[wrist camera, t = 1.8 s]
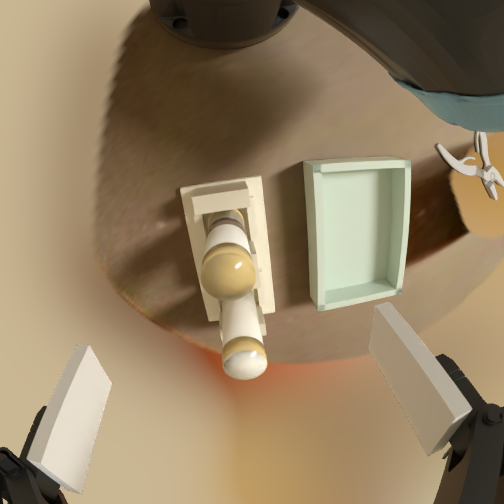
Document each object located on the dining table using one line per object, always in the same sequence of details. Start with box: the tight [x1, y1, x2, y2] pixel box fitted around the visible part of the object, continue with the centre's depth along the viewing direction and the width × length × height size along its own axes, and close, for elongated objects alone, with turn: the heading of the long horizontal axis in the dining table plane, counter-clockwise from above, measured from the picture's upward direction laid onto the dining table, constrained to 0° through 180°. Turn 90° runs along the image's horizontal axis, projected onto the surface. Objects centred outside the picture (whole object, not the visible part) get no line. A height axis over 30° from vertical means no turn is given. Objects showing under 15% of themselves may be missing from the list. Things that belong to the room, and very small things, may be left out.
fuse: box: [222, 289, 267, 380], centre depth 27 cm, size 4×4×12 cm
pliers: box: [436, 131, 504, 200], centre depth 29 cm, size 10×2×15 cm
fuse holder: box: [180, 175, 275, 341], centre depth 29 cm, size 16×8×5 cm, turn 7°
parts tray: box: [303, 156, 411, 311], centre depth 30 cm, size 16×11×4 cm
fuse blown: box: [201, 209, 256, 301], centre depth 24 cm, size 4×4×12 cm
